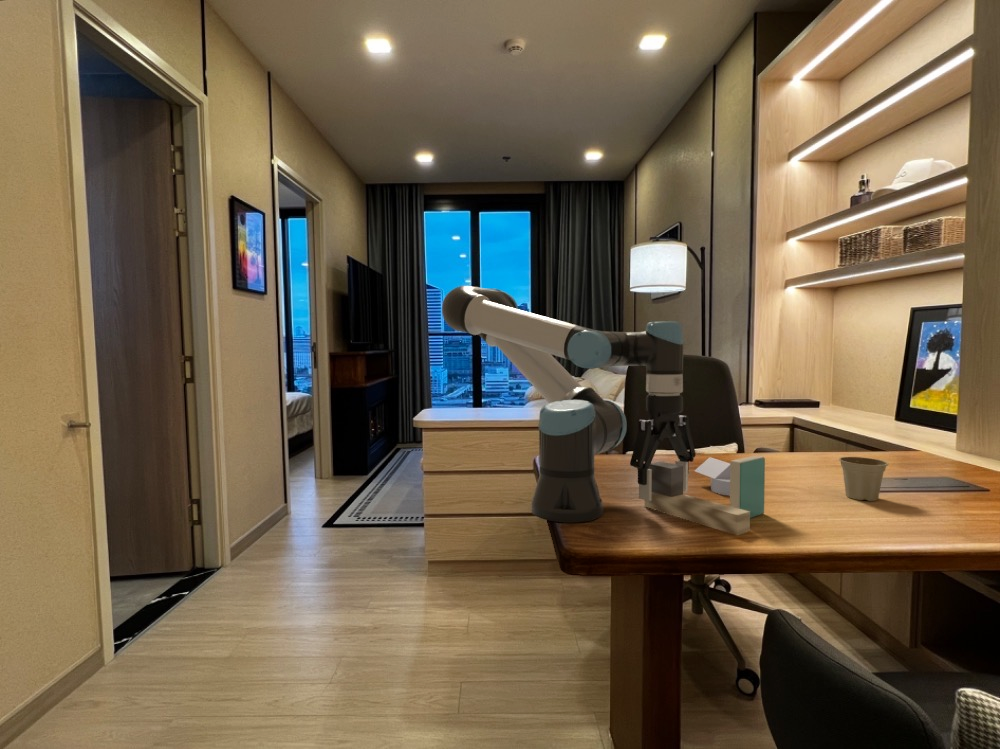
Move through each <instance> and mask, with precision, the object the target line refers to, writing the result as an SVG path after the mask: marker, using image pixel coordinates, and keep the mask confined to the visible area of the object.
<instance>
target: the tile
mask: <svg viewBox="0 0 1000 749" xmlns="http://www.w3.org/2000/svg"><path fill="white" fill-rule="evenodd" d="M729 463H730V496H729V506H731V507H735V508H739V509H743V510H746V511H750V519H751V518H755V517H757V516H760V515H764V514H765V484H766V483H765V481H766V480H765V478H766V477H765V475H766V474H765V473H766V469H765V468H766V458H765V457H764V456H762V455H761V456H760V455H755V454H754V455H751V456H746V457H745V456H744V457H742V458H736V459H732V460H730V461H729Z"/></svg>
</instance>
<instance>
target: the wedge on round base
mask: <svg viewBox="0 0 1000 749" xmlns="http://www.w3.org/2000/svg"><path fill="white" fill-rule="evenodd" d="M694 472H696V473H697V474H701V475H703V476H705V477H708V478H710V491H711V492H713V493H715V494H717V493H718V494H717V495H722V496H729V497H730V462H727V461H723V460H720V459H717V458H713V457H711V456H710V457H708V458H707V459H706V460H705V461H703V462H702V464H700V465H698V467H697V468H696V469H695V470H694Z"/></svg>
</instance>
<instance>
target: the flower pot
mask: <svg viewBox="0 0 1000 749" xmlns="http://www.w3.org/2000/svg"><path fill="white" fill-rule="evenodd" d="M838 461H839V462H840V466H841V467H842V476H843V482H844V490H845V495H846V497H848V498H850V499H853V500H857V501H864V500H866V501H868V502H874V501H877V500H879V495H880V491H881V486H882V481H883V476H884V473H885V471H886V469H887V466H889V463H888V462H887V461H885V460H880V459H878V458H877V459H876V458H870V457H862V456H841V457H839V458H838Z"/></svg>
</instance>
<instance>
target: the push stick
mask: <svg viewBox="0 0 1000 749" xmlns="http://www.w3.org/2000/svg"><path fill="white" fill-rule="evenodd" d="M648 469H651V470H652V501H646V500H644V508H646V507H649V508H652V509H656V510H658V511H657V512H659V511H661V512H660V513H662V512H665V513H667V514H666V515H669V514H671V515H670V516H672V515H674V516H673V517H675V516H677V517H676V518H678V517H680V518H679V519H682V518H683V520H685V519H686V521H688V520H689V522H691V523H695V522H696V524H698V523H699V525H701V526H702V525H703V526H705V527H709V528H711V529H716V530H717V531H718V530H719V531H721V532H725V533H728V534H731V535H734V536H739V535H743V534H745V533H748V532H750V531H751V518H750V511H746V510H743V509H739V508H735V507H731V506H730V505H727V504H724V503H723V504H722V503H719V502H715V501H713V500H712V501H710V500H709V499H708V500H707V499H703V498H699V497H696V496H692V495H688V494H684V491H683V466H680V465H676V463H675V464H674V463H671V462H670V463H669V462H666V461H656V462H651V464H650V466H649V468H648ZM649 508H648V509H649ZM652 509H651V510H652ZM665 513H664V514H665Z"/></svg>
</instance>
